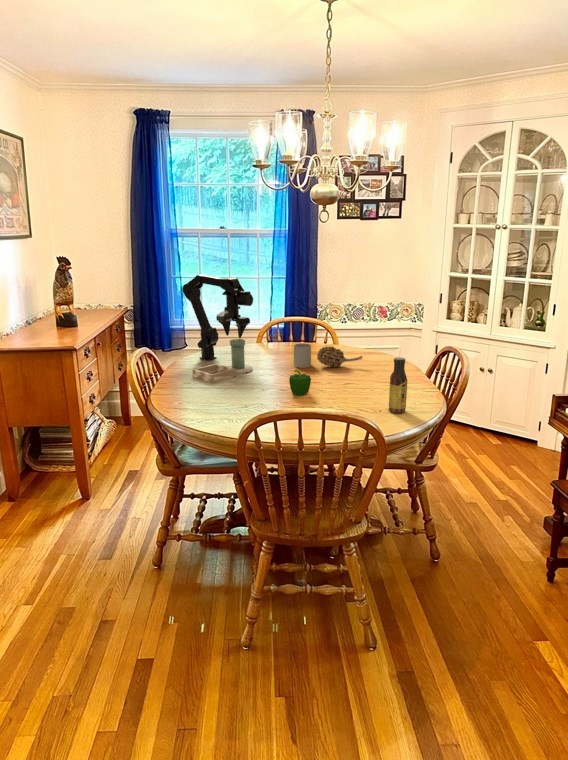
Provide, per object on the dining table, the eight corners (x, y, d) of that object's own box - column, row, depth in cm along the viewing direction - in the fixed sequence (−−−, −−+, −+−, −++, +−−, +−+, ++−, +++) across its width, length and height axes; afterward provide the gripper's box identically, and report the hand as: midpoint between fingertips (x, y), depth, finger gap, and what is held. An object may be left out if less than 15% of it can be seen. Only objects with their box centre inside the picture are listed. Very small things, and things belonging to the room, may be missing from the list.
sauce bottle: (404, 415, 202) (406, 361, 196) (386, 413, 204) (389, 360, 198) (407, 409, 208) (410, 357, 202) (390, 407, 210) (392, 355, 204)
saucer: (221, 370, 263) (221, 368, 263) (240, 365, 271) (240, 363, 271) (238, 375, 255) (238, 372, 255) (257, 370, 263) (257, 367, 263)
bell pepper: (314, 395, 225) (314, 371, 222) (296, 398, 221) (296, 374, 218) (303, 390, 232) (303, 366, 229) (286, 393, 228) (286, 369, 225)
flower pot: (227, 367, 263) (226, 340, 259) (239, 365, 267) (238, 338, 264) (237, 370, 258) (236, 342, 254) (248, 367, 263) (248, 340, 259)
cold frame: (192, 377, 253) (192, 369, 252) (216, 370, 262) (216, 363, 261) (212, 382, 243) (211, 375, 242) (236, 376, 253) (236, 368, 252)
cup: (313, 366, 268) (314, 346, 265) (298, 368, 265) (297, 348, 262) (306, 362, 275) (306, 342, 272) (291, 364, 272) (291, 344, 270)
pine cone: (316, 369, 263) (316, 348, 260) (317, 364, 272) (317, 344, 270) (363, 370, 261) (364, 349, 258) (362, 364, 270) (363, 344, 268)
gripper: (207, 304, 270) (208, 336, 274) (232, 308, 257) (233, 342, 262) (224, 302, 278) (226, 333, 282) (250, 305, 265) (251, 338, 269)
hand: (233, 336), depth 274 cm, fingers open, 9 cm apart
